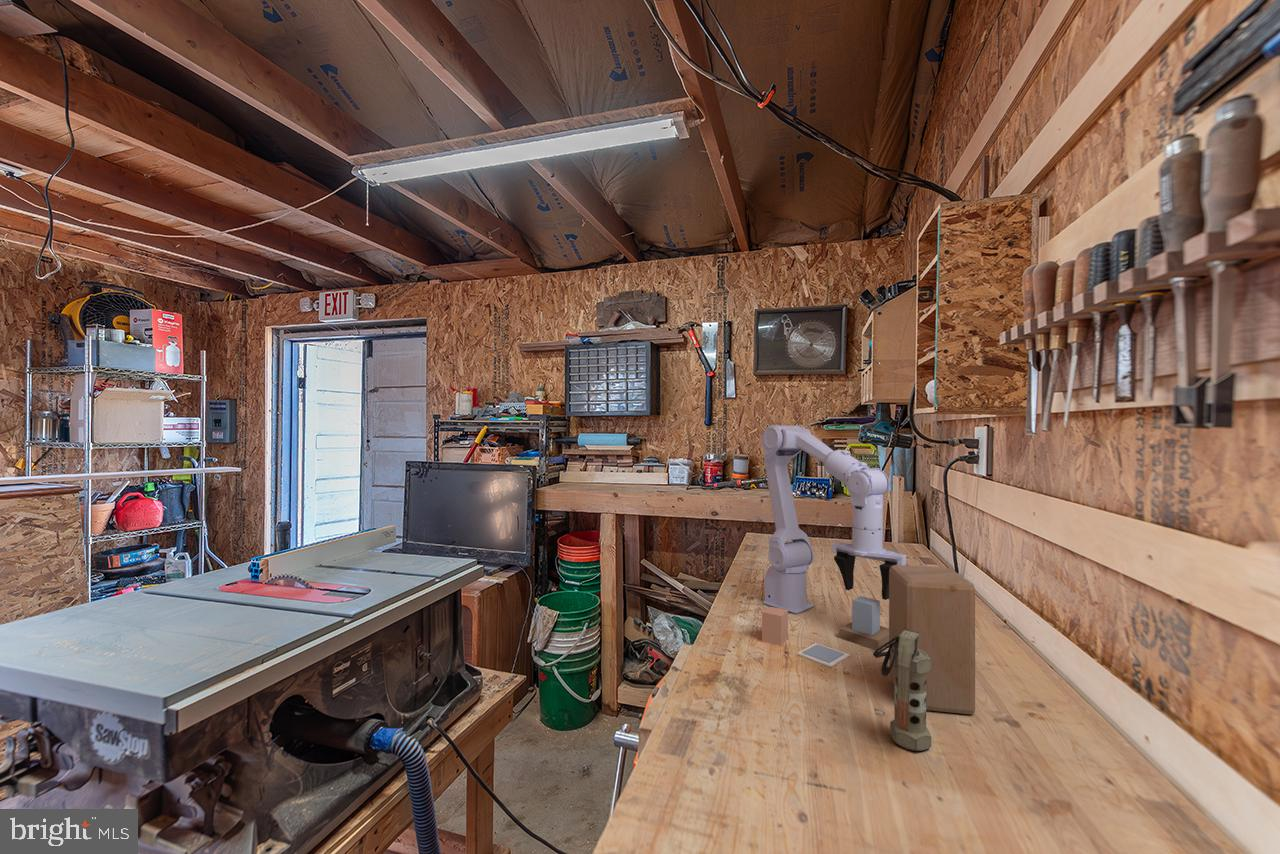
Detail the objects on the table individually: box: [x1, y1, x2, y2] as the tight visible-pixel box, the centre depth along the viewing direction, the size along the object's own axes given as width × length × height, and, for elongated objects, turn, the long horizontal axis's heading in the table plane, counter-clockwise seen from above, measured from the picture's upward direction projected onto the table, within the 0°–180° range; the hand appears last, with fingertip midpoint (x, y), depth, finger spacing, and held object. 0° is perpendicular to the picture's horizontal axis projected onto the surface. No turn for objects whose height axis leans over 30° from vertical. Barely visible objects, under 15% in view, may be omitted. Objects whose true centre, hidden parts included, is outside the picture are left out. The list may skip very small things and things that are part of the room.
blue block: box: [851, 595, 881, 635], centre depth 104 cm, size 4×4×6 cm
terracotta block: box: [761, 606, 789, 647], centre depth 104 cm, size 4×4×6 cm
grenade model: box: [872, 630, 932, 752], centre depth 70 cm, size 6×7×15 cm
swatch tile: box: [796, 642, 851, 668], centre depth 97 cm, size 7×7×1 cm
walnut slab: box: [838, 621, 889, 651], centre depth 104 cm, size 8×8×2 cm
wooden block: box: [888, 564, 976, 715], centre depth 82 cm, size 10×10×20 cm
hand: (867, 593), depth 104 cm, fingers open, 7 cm apart
